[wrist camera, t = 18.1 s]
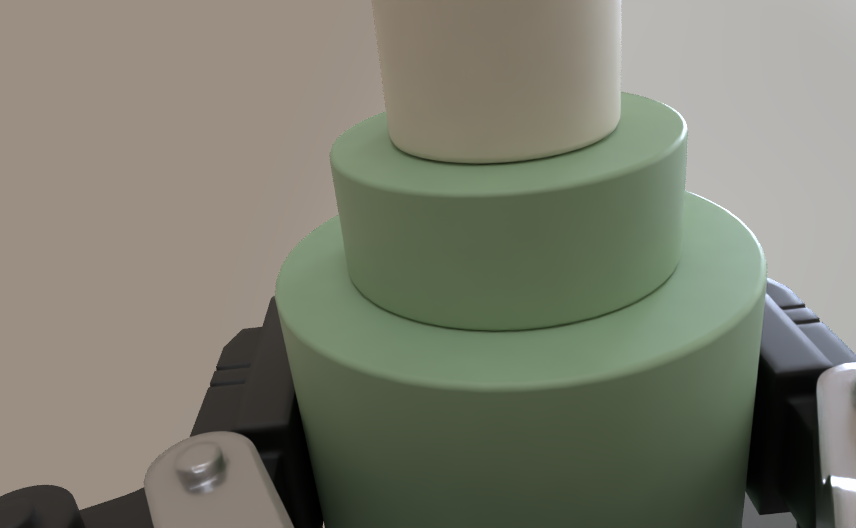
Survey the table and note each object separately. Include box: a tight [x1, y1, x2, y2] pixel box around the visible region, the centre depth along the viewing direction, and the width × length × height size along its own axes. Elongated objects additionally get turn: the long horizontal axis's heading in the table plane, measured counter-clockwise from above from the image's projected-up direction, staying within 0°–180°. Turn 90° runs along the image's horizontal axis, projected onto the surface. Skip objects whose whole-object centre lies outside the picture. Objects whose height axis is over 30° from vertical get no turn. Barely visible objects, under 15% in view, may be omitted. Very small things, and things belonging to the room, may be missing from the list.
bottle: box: [275, 0, 767, 528], centre depth 11 cm, size 6×6×20 cm
